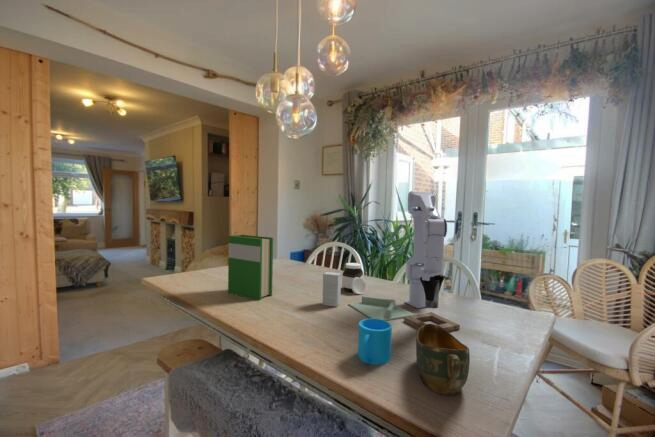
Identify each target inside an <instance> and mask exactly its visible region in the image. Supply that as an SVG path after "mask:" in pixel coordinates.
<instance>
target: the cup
mask: <svg viewBox="0 0 655 437" xmlns="http://www.w3.org/2000/svg"><path fill="white" fill-rule="evenodd" d="M437 325H438V324H435V323H425V324H424V325H422V326H421V327H420V328H419V329H417V331H416V334H415V335H416V337H415V339H416V340H415V342H416V343H415V344H416V345H415V356H416V363H417V364H416V365H417V368H418V372H419V377H420V378H421V379H420V380H421V381H422V383H423V384H424V385H425V386H426V387H427V388H428V389H430V390H431V391H434V392H435V393H438V394H439V395H442V396H443V395H444V396H455V395H458V394H460V392H461V389H462V388H463V387H464V386H465V384H466V382H467V380H468V377H469V372H470V361H471V360H470V359H471V356H470V348H469V347H468V346H467V345H465V344H464V343H462V342H461V341H460V340H458V339H457V338H456V337H455V336H454V335H453V334H452V333H451V332H448V331H447V330H445V329H444V328H442V327H440V326H437Z"/></svg>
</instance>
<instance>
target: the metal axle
mask: <svg viewBox="0 0 655 437" xmlns="http://www.w3.org/2000/svg"><path fill="white" fill-rule="evenodd" d="M439 297H440V291H439V283H438V285H437V287H436V291H435V296H434V300H433V301H428V300H426V297H425V306H426V307H425V308H429V309H438V308H439V302H440V301H439V300H440V299H439Z"/></svg>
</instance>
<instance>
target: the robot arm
mask: <svg viewBox="0 0 655 437" xmlns="http://www.w3.org/2000/svg"><path fill="white" fill-rule="evenodd" d="M436 197H437V195H436V193H435V192H434V191H412V190H410V191H409V192H408V194H407V212H408V214H410V215H411V217H412V220H413V256H412V257H410V258H409V259H408V260H407V261H406V267H405V276H406V280H407V281H409V294H408V297H409V298H408V300H404V301H403V302H404V303H405V304H408V305H410V306H411V307H414V308H416V309H421V308H427V307H426V306H425V297H426V300H428V301H433V300H434V296H435V291H436V287H437V285H438V283H439V292H440V290H441V287H442V284H443V282H444V280H446V276H445V275H444V250H445V247H444V246H445V245H444V244H445V238H446V237H447V234H448V222H447V220H446V218H441V216H440V213H439V210H438V208H436V207H435V206H436V203H437V202H436V201H437V198H436Z"/></svg>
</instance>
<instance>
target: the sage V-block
mask: <svg viewBox="0 0 655 437" xmlns="http://www.w3.org/2000/svg"><path fill="white" fill-rule="evenodd" d="M348 306H349V307H352V308H353V309H354V310H356V311H358V312H360V313H361V314H363V315H364V316H366V317H367V318H368V319H370V318H373V319H381V320H385V321H387V322H389V321H393V320H394V321H395V320H399V319H404V317H406V316H412V315H416V314H415V313H413V312H411V311H409V310H407V309H405V308H403V307H401V306H398V305H397V304H396V300H395V299H393V298H385V297H378V296H368V295H367V296H366V295H362V296H361V301H355V302H348Z"/></svg>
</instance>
